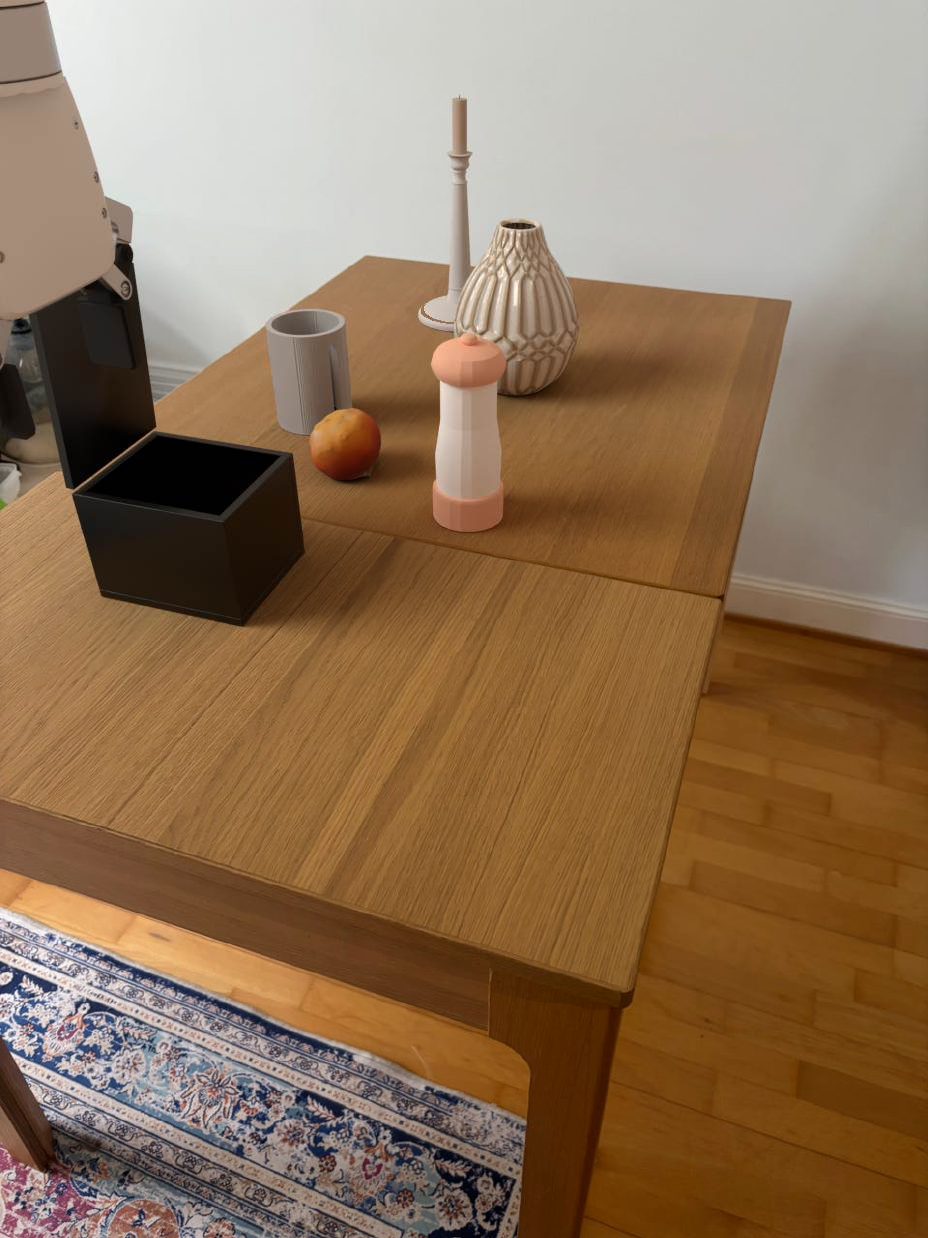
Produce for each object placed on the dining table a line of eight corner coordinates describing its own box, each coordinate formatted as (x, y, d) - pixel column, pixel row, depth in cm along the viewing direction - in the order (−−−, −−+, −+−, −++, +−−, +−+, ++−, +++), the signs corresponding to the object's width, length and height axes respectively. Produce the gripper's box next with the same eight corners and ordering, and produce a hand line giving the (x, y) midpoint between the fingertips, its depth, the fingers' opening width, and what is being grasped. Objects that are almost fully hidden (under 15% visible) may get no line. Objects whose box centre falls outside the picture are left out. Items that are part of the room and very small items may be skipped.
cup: (296, 399, 121) (285, 305, 113) (363, 407, 119) (356, 312, 111) (265, 429, 114) (251, 332, 107) (335, 439, 112) (326, 340, 105)
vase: (582, 365, 129) (595, 210, 117) (563, 414, 117) (575, 247, 105) (470, 354, 133) (470, 202, 120) (440, 400, 120) (437, 237, 108)
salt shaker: (517, 515, 98) (524, 335, 86) (465, 540, 94) (465, 355, 83) (471, 489, 102) (472, 314, 91) (419, 512, 99) (412, 332, 87)
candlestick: (408, 327, 141) (400, 100, 122) (430, 299, 151) (425, 85, 132) (493, 334, 138) (497, 104, 120) (509, 305, 148) (515, 88, 130)
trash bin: (305, 551, 93) (293, 452, 86) (242, 626, 83) (223, 521, 77) (175, 527, 96) (154, 430, 90) (101, 596, 87) (71, 493, 80)
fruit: (396, 476, 102) (353, 417, 98) (336, 508, 104) (292, 452, 100) (401, 441, 108) (361, 385, 104) (345, 473, 111) (304, 418, 107)
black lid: (133, 262, 80) (78, 251, 81) (36, 311, 70) (-25, 298, 71) (156, 426, 89) (107, 414, 90) (73, 490, 80) (19, 475, 81)
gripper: (27, 29, 51) (101, 337, 62) (-256, 74, 38) (-101, 455, 49) (147, 33, 49) (203, 350, 60) (-107, 83, 36) (20, 478, 47)
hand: (66, 397), depth 54 cm, fingers open, 9 cm apart
